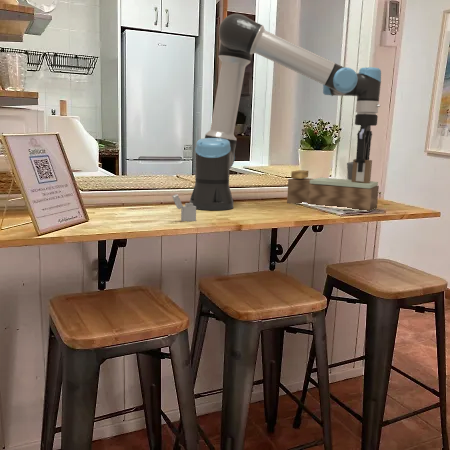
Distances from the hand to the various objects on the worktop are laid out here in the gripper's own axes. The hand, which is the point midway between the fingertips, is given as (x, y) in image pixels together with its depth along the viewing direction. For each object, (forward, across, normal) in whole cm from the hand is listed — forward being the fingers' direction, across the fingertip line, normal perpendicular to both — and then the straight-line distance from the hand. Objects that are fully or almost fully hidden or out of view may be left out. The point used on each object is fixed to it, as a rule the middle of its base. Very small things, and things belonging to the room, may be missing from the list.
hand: (360, 180), depth 182 cm
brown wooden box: (+10, 0, +10) cm, 14 cm away
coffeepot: (+10, +19, +5) cm, 22 cm away
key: (+1, 0, +23) cm, 23 cm away
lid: (+3, 0, +6) cm, 7 cm away
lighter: (+11, -59, +38) cm, 71 cm away
